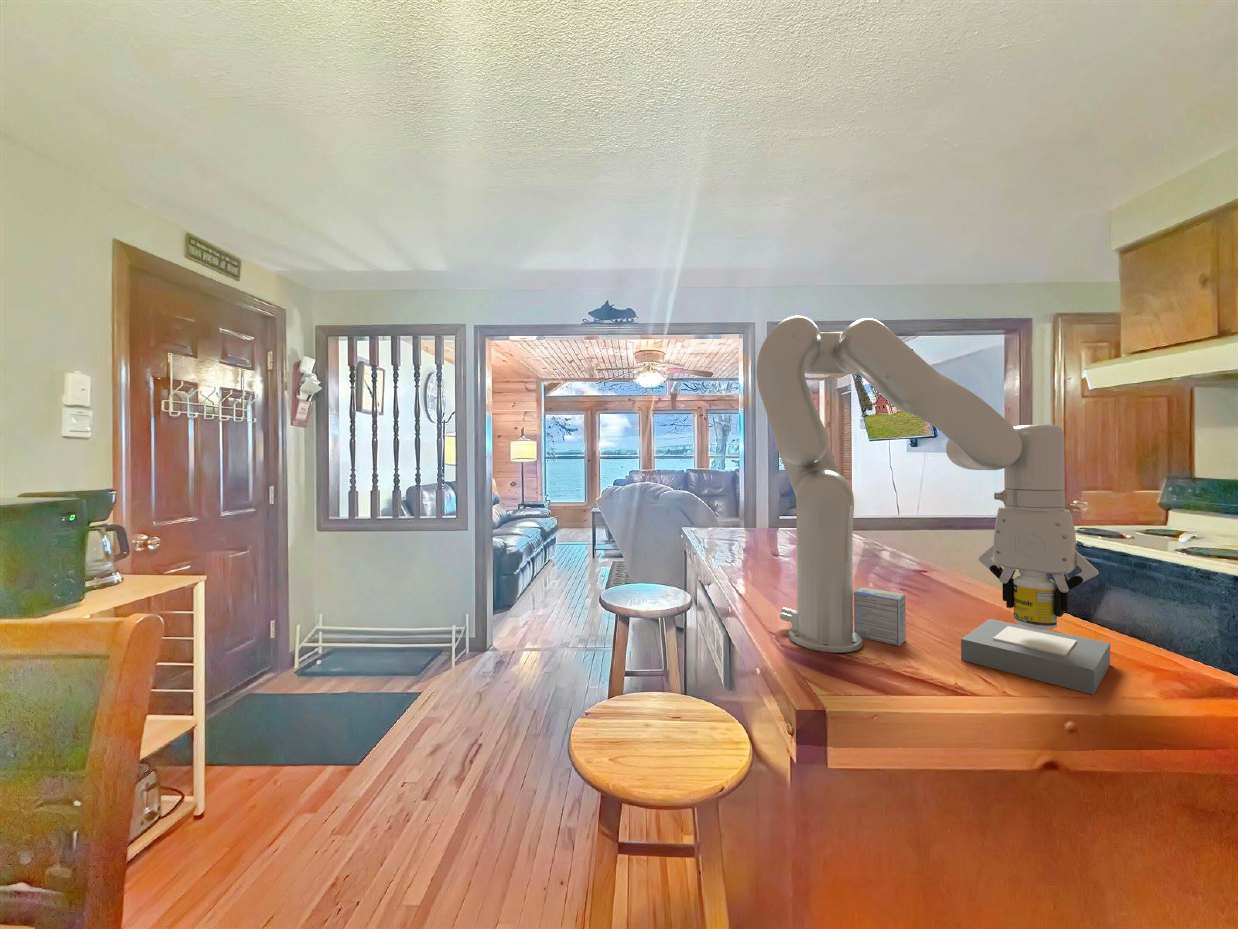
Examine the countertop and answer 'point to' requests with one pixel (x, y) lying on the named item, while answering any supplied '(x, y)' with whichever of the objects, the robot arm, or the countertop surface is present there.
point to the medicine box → (880, 615)
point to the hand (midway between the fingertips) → (1034, 609)
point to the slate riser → (1038, 654)
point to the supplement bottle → (1034, 600)
